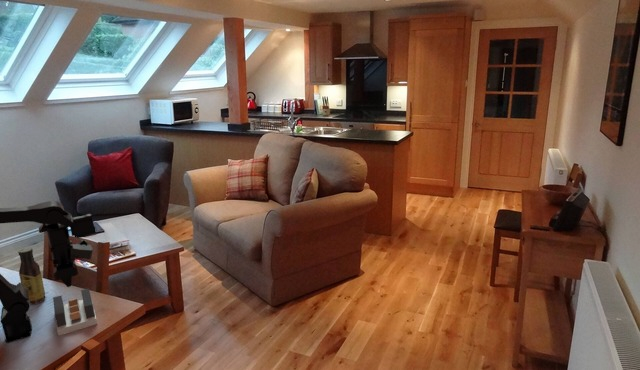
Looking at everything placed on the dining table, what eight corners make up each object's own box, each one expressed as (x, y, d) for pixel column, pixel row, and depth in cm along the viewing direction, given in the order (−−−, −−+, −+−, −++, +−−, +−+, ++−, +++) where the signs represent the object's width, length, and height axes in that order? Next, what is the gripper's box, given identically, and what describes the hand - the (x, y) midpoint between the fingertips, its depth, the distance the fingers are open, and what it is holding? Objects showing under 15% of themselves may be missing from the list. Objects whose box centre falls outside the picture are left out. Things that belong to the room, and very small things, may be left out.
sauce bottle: (21, 302, 157) (8, 251, 151) (39, 294, 162) (27, 244, 156) (33, 307, 154) (20, 254, 148) (50, 298, 159) (39, 247, 153)
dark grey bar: (57, 327, 139) (54, 315, 138) (55, 309, 149) (53, 297, 147) (66, 324, 140) (63, 312, 139) (63, 306, 150) (61, 295, 149)
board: (97, 323, 144) (96, 318, 143) (58, 335, 138) (57, 329, 138) (92, 302, 156) (91, 297, 155) (56, 312, 150) (54, 307, 150)
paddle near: (71, 320, 142) (70, 314, 141) (71, 319, 143) (70, 313, 142) (80, 317, 143) (79, 311, 143) (80, 316, 144) (79, 310, 144)
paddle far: (69, 307, 149) (68, 301, 149) (69, 306, 150) (68, 300, 150) (78, 304, 150) (77, 299, 150) (78, 303, 151) (76, 298, 151)
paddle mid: (70, 313, 145) (69, 307, 145) (70, 312, 146) (69, 306, 146) (79, 311, 147) (78, 305, 146) (79, 310, 148) (78, 304, 147)
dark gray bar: (86, 318, 143) (84, 306, 142) (83, 301, 153) (80, 290, 151) (95, 316, 144) (92, 304, 143) (91, 299, 154) (88, 288, 153)
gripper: (91, 245, 135) (100, 291, 140) (85, 226, 150) (93, 268, 155) (49, 255, 130) (59, 302, 134) (47, 233, 145) (56, 277, 150)
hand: (69, 286), depth 144 cm, fingers closed
